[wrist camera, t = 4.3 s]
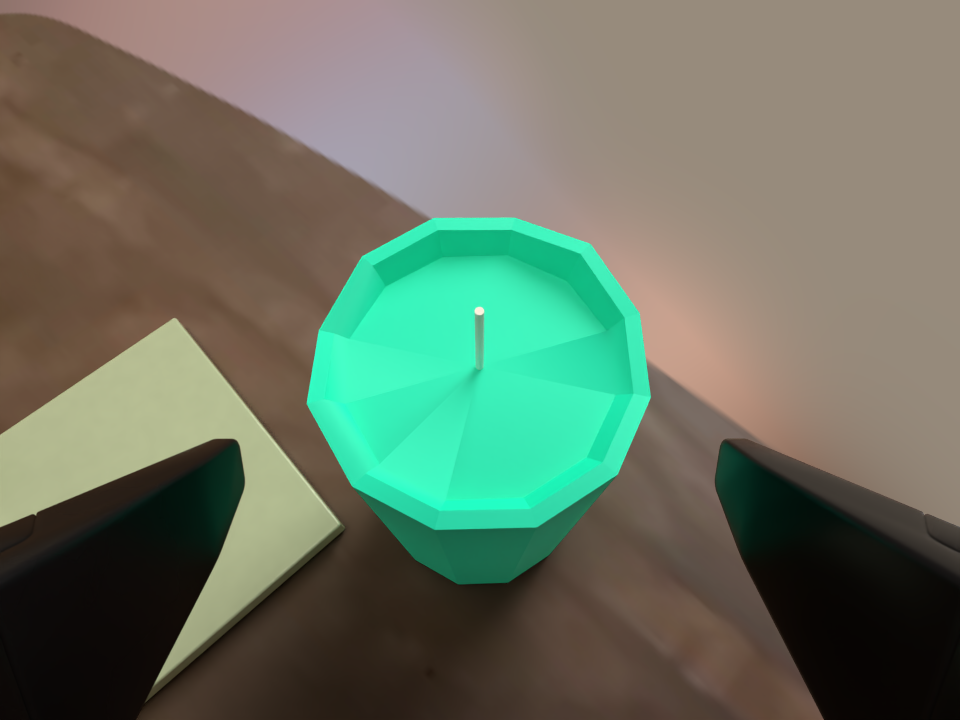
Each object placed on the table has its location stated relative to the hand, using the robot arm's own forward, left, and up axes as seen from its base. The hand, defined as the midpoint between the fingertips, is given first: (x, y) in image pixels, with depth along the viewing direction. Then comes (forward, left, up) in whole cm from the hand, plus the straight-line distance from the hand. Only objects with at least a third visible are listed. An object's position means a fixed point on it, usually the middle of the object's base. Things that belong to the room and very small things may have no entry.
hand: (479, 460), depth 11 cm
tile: (+8, +8, -9) cm, 14 cm away
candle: (+1, -1, -9) cm, 9 cm away
